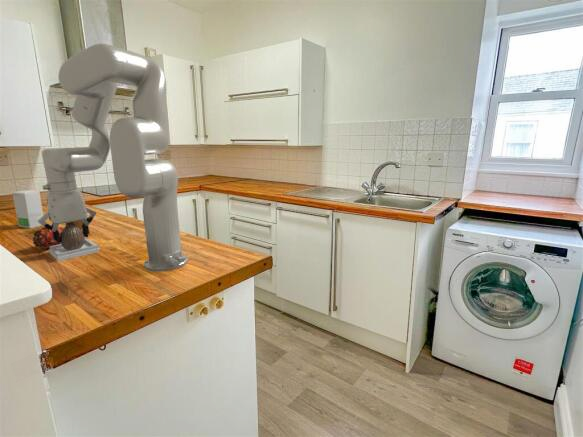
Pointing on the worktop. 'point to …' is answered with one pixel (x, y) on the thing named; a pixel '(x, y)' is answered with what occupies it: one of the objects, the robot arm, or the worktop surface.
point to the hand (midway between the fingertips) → (72, 238)
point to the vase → (72, 237)
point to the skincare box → (28, 208)
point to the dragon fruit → (45, 238)
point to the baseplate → (73, 251)
